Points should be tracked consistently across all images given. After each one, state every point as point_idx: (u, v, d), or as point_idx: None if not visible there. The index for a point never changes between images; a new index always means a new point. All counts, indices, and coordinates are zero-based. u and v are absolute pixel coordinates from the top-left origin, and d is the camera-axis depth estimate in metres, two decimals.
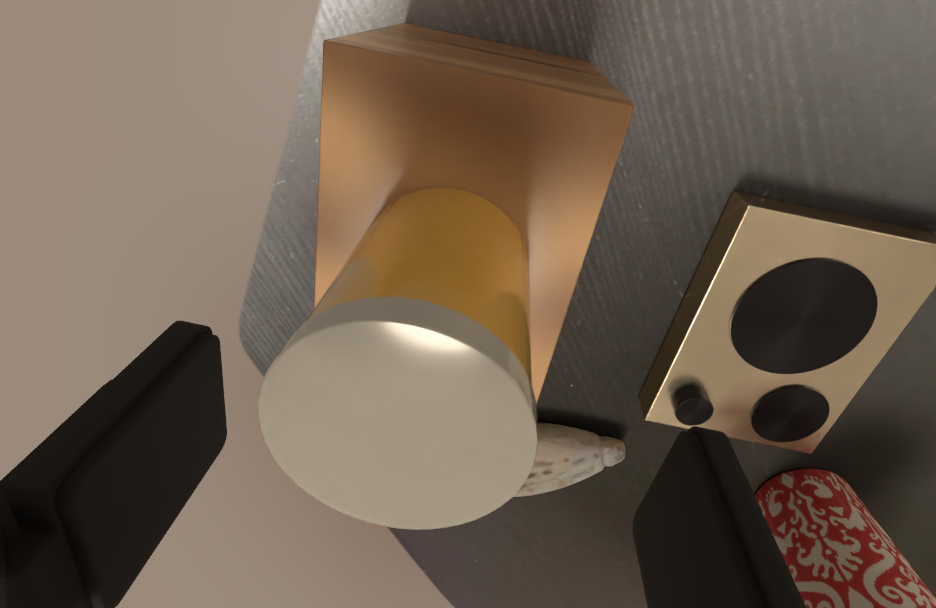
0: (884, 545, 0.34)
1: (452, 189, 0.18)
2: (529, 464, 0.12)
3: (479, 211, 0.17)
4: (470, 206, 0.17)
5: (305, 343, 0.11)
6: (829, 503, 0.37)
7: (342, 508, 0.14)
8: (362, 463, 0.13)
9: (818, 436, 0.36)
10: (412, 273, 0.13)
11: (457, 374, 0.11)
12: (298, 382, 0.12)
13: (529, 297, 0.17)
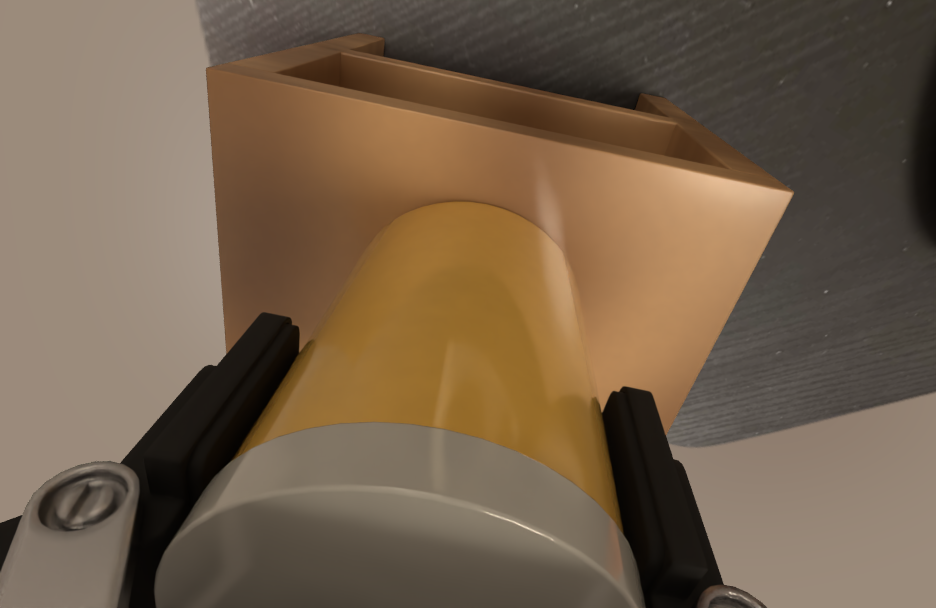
0: None
1: None
2: (430, 501, 0.05)
3: None
4: None
5: None
6: None
7: None
8: None
9: None
10: None
11: (228, 578, 0.06)
12: None
13: (422, 251, 0.11)
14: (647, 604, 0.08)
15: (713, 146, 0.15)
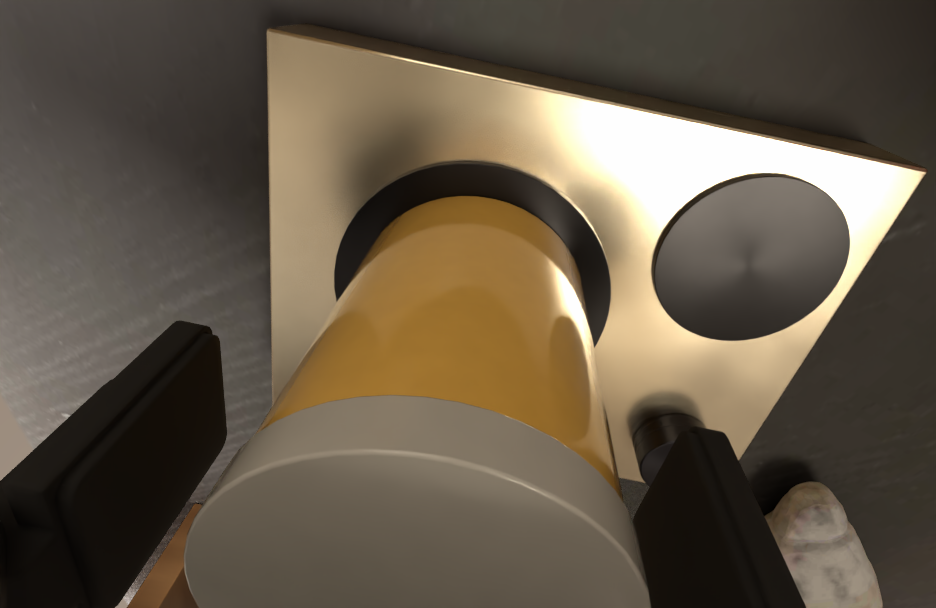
0: None
1: None
2: (445, 465, 0.06)
3: None
4: None
5: None
6: None
7: None
8: None
9: (853, 172, 0.13)
10: None
11: (253, 541, 0.07)
12: None
13: (431, 242, 0.11)
14: None
15: None
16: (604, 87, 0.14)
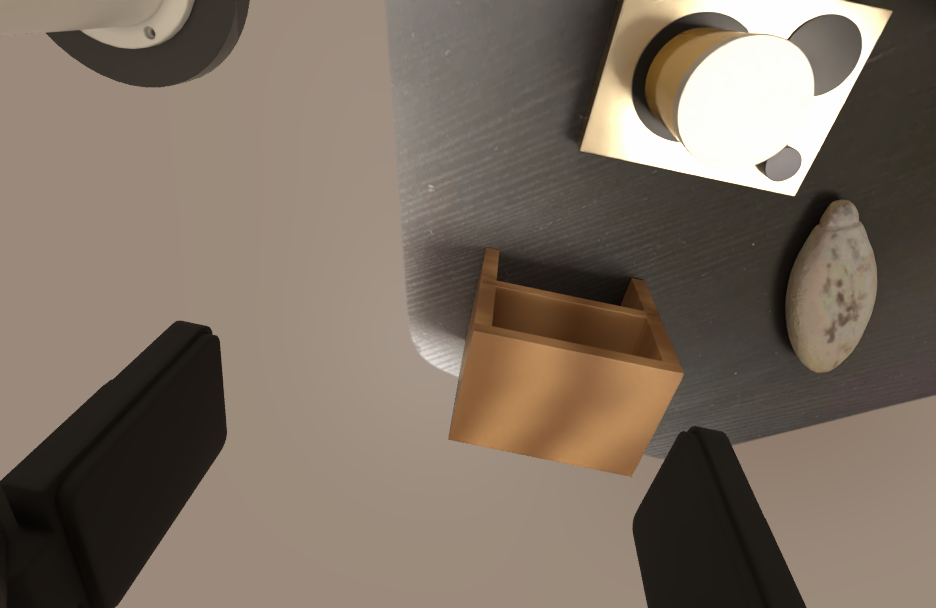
0: None
1: (647, 75, 0.34)
2: (773, 37, 0.25)
3: (659, 60, 0.33)
4: (656, 65, 0.33)
5: (684, 140, 0.28)
6: None
7: (787, 139, 0.27)
8: (757, 124, 0.27)
9: (864, 12, 0.32)
10: (670, 95, 0.29)
11: (710, 74, 0.26)
12: (703, 147, 0.28)
13: (711, 30, 0.30)
14: None
15: (659, 340, 0.37)
16: None
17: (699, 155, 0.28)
